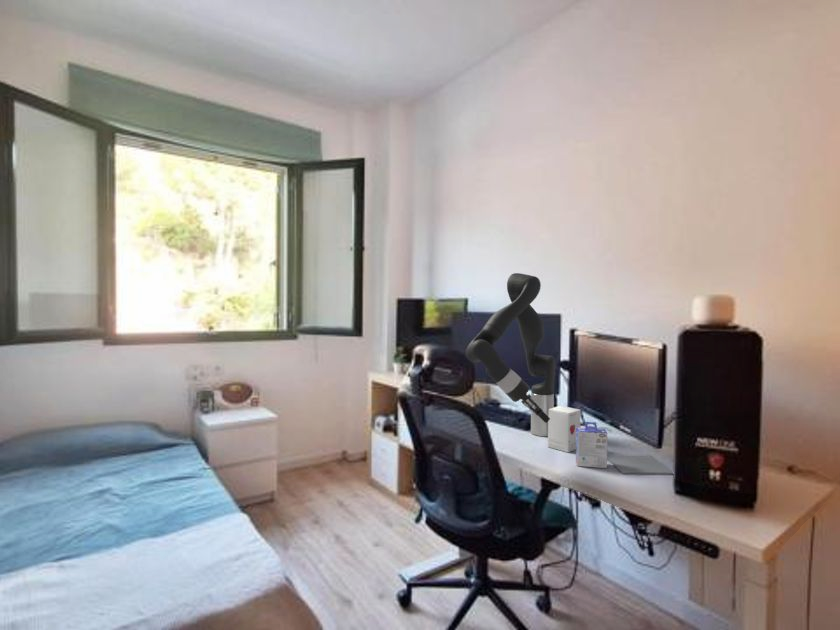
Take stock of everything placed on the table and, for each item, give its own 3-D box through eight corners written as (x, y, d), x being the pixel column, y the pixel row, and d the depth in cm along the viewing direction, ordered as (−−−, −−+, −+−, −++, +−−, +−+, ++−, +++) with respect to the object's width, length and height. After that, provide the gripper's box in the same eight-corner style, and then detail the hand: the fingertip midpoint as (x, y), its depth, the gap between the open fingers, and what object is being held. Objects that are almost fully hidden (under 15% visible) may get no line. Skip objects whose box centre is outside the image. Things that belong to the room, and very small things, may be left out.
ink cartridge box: (604, 463, 159) (605, 422, 158) (607, 468, 153) (608, 426, 153) (574, 461, 161) (575, 420, 160) (577, 466, 155) (577, 424, 155)
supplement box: (568, 453, 169) (568, 413, 168) (547, 447, 175) (547, 408, 175) (580, 447, 175) (581, 409, 174) (559, 442, 181) (560, 405, 181)
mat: (603, 456, 165) (604, 455, 165) (651, 457, 164) (651, 455, 164) (622, 474, 149) (622, 472, 149) (675, 474, 149) (675, 472, 148)
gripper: (524, 380, 150) (560, 418, 150) (516, 374, 163) (550, 408, 163) (507, 396, 150) (544, 433, 150) (501, 388, 163) (535, 422, 164)
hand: (547, 420), depth 157 cm, fingers closed
